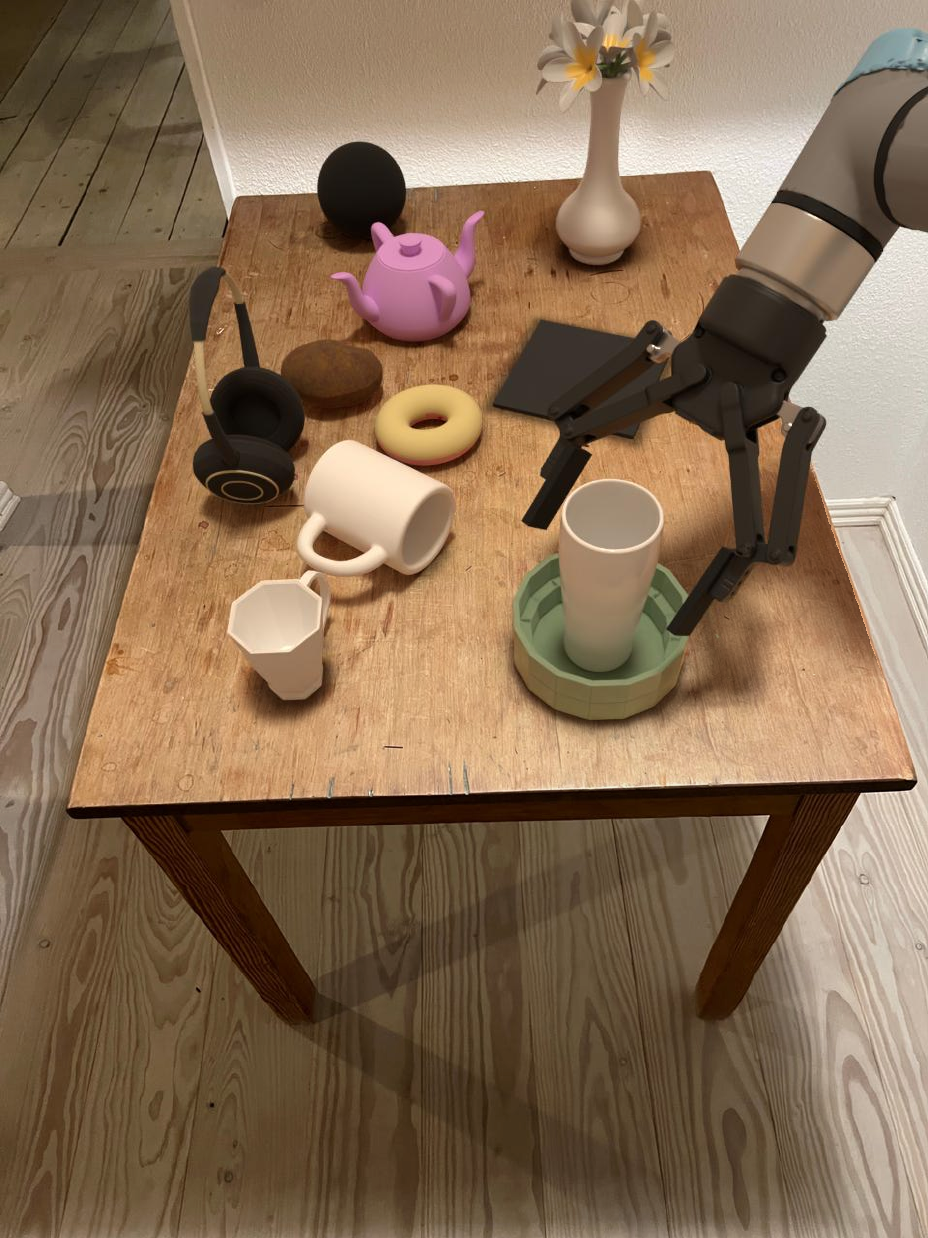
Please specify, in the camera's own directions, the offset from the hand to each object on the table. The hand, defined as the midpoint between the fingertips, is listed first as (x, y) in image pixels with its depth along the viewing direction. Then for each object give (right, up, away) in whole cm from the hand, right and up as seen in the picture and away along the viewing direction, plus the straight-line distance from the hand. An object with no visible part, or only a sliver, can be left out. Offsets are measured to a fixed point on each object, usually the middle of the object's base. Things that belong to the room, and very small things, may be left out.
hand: (602, 577), depth 66 cm
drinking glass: (+1, -5, +7) cm, 9 cm away
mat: (+2, +21, +27) cm, 34 cm away
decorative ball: (-21, +42, +44) cm, 65 cm away
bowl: (+1, -5, +7) cm, 9 cm away
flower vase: (+5, +39, +40) cm, 56 cm away
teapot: (-15, +29, +34) cm, 47 cm away
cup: (-22, -6, +8) cm, 24 cm away
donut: (-13, +14, +23) cm, 30 cm away
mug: (-18, +3, +14) cm, 23 cm away
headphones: (-28, +10, +21) cm, 37 cm away
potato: (-22, +19, +27) cm, 39 cm away
